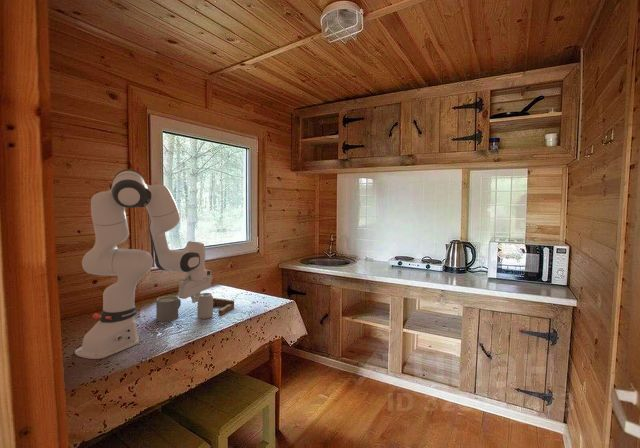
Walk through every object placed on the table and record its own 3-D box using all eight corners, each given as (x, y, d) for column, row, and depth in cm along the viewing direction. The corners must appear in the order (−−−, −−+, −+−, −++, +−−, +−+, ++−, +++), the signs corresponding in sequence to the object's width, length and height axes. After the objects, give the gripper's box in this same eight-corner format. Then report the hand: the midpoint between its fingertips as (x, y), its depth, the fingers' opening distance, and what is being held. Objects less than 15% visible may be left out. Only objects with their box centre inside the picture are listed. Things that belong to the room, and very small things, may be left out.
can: (215, 314, 165) (215, 292, 164) (208, 320, 158) (209, 296, 157) (201, 313, 166) (201, 291, 165) (194, 319, 158) (194, 295, 157)
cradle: (221, 315, 165) (221, 307, 165) (200, 312, 168) (200, 304, 168) (234, 307, 177) (234, 300, 177) (213, 304, 180) (213, 297, 180)
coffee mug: (164, 323, 152) (164, 303, 151) (152, 318, 157) (152, 299, 156) (188, 315, 163) (188, 296, 163) (175, 311, 168) (176, 292, 167)
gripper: (186, 280, 141) (186, 310, 142) (213, 270, 160) (213, 296, 162) (174, 278, 142) (174, 308, 144) (202, 268, 162) (202, 294, 163)
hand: (195, 301), depth 153 cm, fingers closed
